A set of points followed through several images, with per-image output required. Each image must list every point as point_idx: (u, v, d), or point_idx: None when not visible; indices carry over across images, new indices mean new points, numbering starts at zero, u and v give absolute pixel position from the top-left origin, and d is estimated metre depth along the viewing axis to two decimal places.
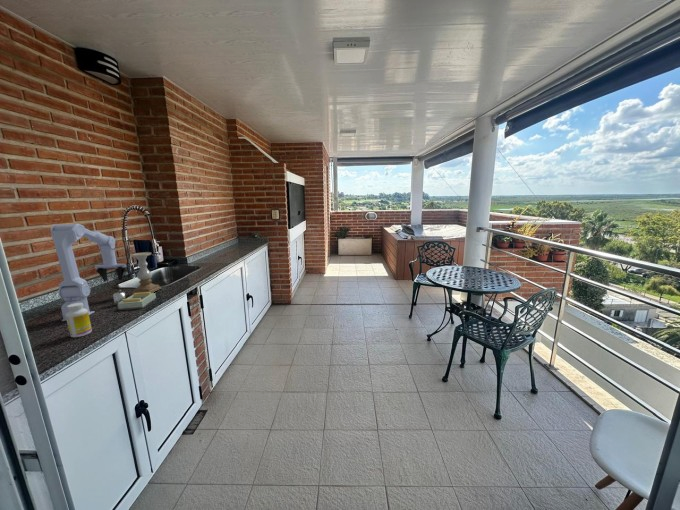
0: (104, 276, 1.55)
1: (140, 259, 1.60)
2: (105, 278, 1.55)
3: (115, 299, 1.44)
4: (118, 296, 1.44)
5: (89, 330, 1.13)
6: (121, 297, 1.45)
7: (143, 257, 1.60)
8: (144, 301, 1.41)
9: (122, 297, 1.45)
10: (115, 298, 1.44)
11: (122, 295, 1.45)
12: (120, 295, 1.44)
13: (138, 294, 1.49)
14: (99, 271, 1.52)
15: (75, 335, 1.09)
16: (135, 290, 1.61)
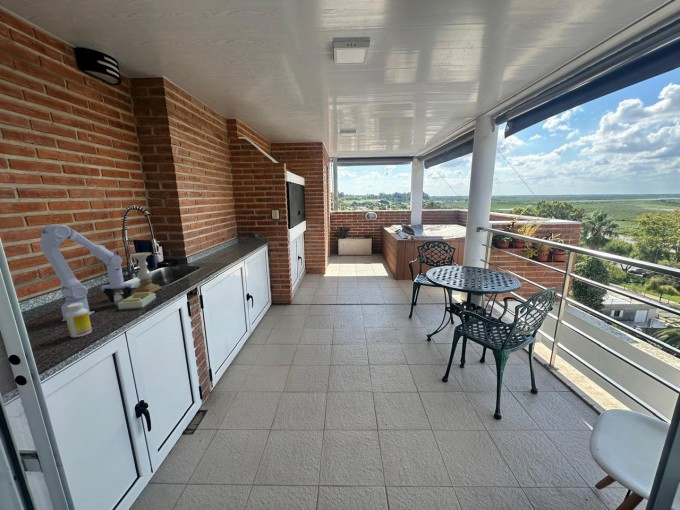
0: (111, 297, 1.45)
1: (140, 259, 1.60)
2: (112, 299, 1.45)
3: (115, 299, 1.44)
4: (118, 296, 1.44)
5: (89, 330, 1.13)
6: (121, 297, 1.45)
7: (143, 257, 1.60)
8: (144, 301, 1.41)
9: (122, 297, 1.45)
10: (115, 298, 1.44)
11: (122, 295, 1.45)
12: (120, 295, 1.44)
13: (138, 294, 1.49)
14: (106, 292, 1.42)
15: (75, 335, 1.09)
16: (135, 290, 1.61)
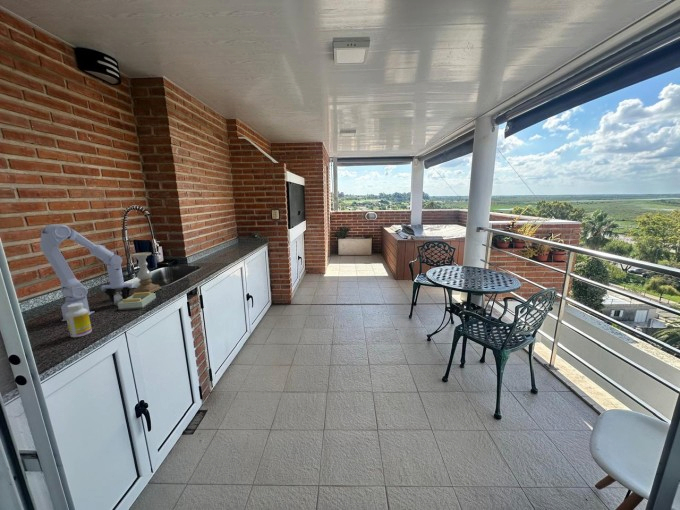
0: (113, 297, 1.45)
1: (140, 259, 1.60)
2: None
3: (115, 299, 1.44)
4: (118, 296, 1.44)
5: (89, 330, 1.13)
6: (121, 297, 1.45)
7: (143, 257, 1.60)
8: (144, 301, 1.41)
9: (122, 297, 1.45)
10: (115, 298, 1.44)
11: (122, 295, 1.45)
12: (120, 295, 1.44)
13: (138, 294, 1.49)
14: (108, 292, 1.42)
15: (75, 335, 1.09)
16: (135, 290, 1.61)
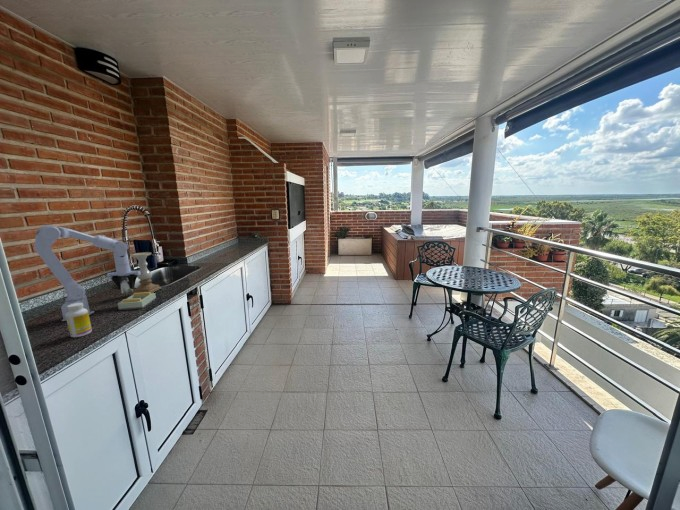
0: (119, 284, 1.43)
1: (140, 259, 1.60)
2: None
3: (122, 287, 1.42)
4: (125, 284, 1.42)
5: (89, 330, 1.13)
6: (128, 285, 1.43)
7: (143, 257, 1.60)
8: (144, 301, 1.41)
9: (129, 285, 1.43)
10: (122, 286, 1.42)
11: (129, 283, 1.43)
12: (127, 283, 1.43)
13: (138, 294, 1.49)
14: (114, 279, 1.40)
15: (75, 335, 1.09)
16: (135, 290, 1.61)
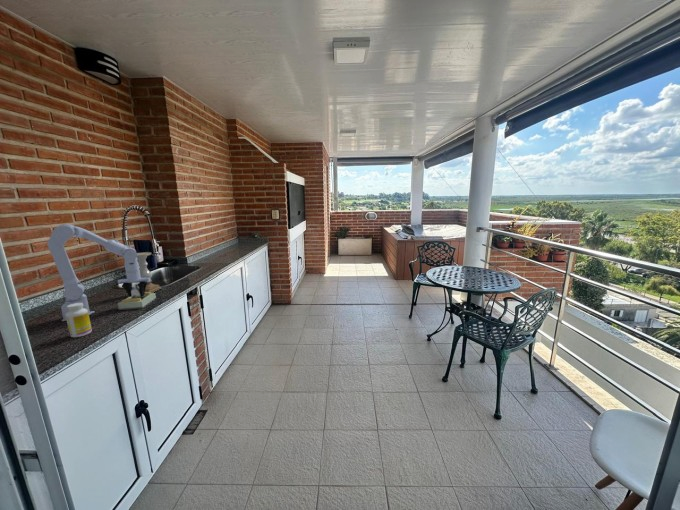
0: (129, 291, 1.43)
1: (140, 259, 1.60)
2: (130, 293, 1.43)
3: (132, 294, 1.42)
4: (135, 290, 1.42)
5: (89, 330, 1.13)
6: (138, 292, 1.43)
7: (143, 257, 1.60)
8: (144, 301, 1.41)
9: (139, 292, 1.43)
10: (132, 293, 1.42)
11: (139, 290, 1.43)
12: (137, 289, 1.43)
13: None
14: (124, 286, 1.40)
15: (75, 335, 1.09)
16: None
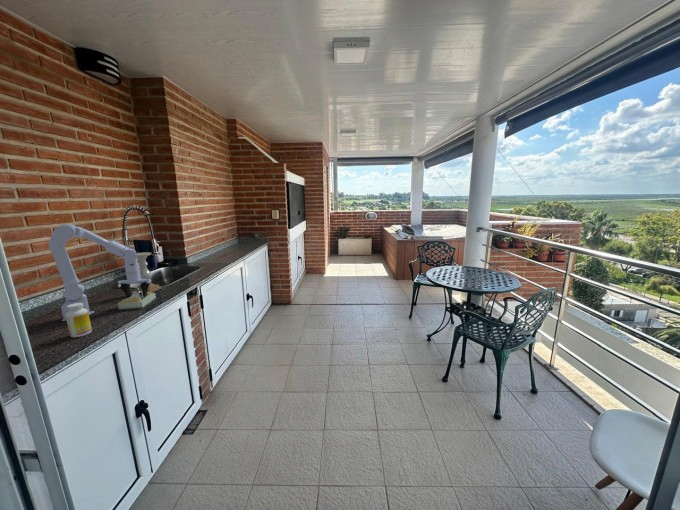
0: (127, 292, 1.43)
1: (140, 259, 1.60)
2: (128, 295, 1.43)
3: (133, 298, 1.42)
4: (136, 295, 1.42)
5: (89, 330, 1.13)
6: (139, 296, 1.43)
7: (143, 257, 1.60)
8: (144, 301, 1.41)
9: (140, 296, 1.44)
10: (133, 297, 1.42)
11: (140, 294, 1.44)
12: (138, 294, 1.43)
13: None
14: (122, 287, 1.40)
15: (75, 335, 1.09)
16: (135, 290, 1.61)
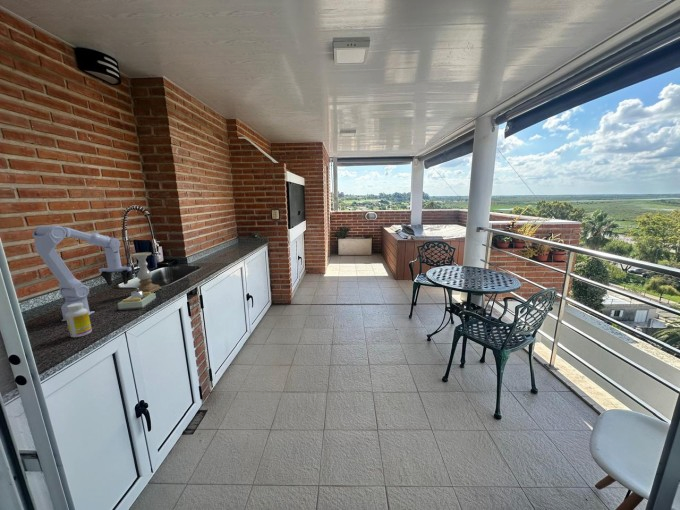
0: (108, 280, 1.47)
1: (140, 259, 1.60)
2: (109, 282, 1.47)
3: (133, 298, 1.42)
4: (136, 295, 1.42)
5: (89, 330, 1.13)
6: (139, 296, 1.43)
7: (143, 257, 1.60)
8: (144, 301, 1.41)
9: (140, 296, 1.44)
10: (133, 297, 1.42)
11: (140, 294, 1.44)
12: (138, 294, 1.43)
13: None
14: (103, 275, 1.44)
15: (75, 335, 1.09)
16: (135, 290, 1.61)
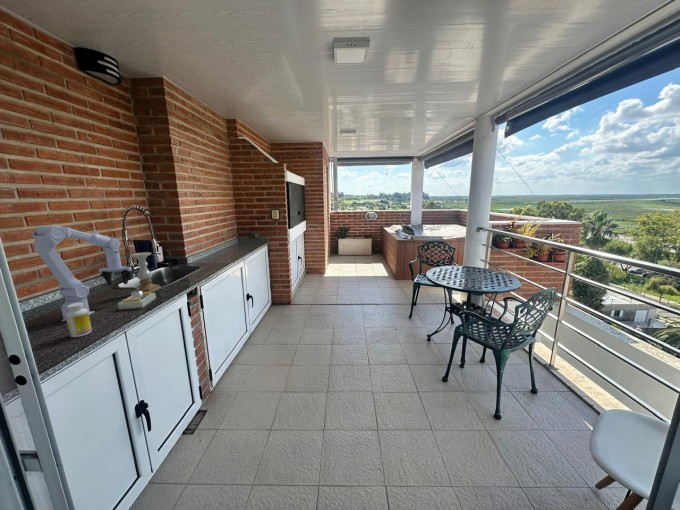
0: (108, 280, 1.47)
1: (140, 259, 1.60)
2: (109, 282, 1.47)
3: (133, 297, 1.42)
4: (136, 294, 1.43)
5: (89, 330, 1.13)
6: (139, 295, 1.44)
7: (143, 257, 1.60)
8: (144, 301, 1.41)
9: (140, 295, 1.44)
10: (133, 296, 1.42)
11: (140, 293, 1.44)
12: (138, 293, 1.43)
13: None
14: (103, 275, 1.44)
15: (75, 335, 1.09)
16: (135, 290, 1.61)
